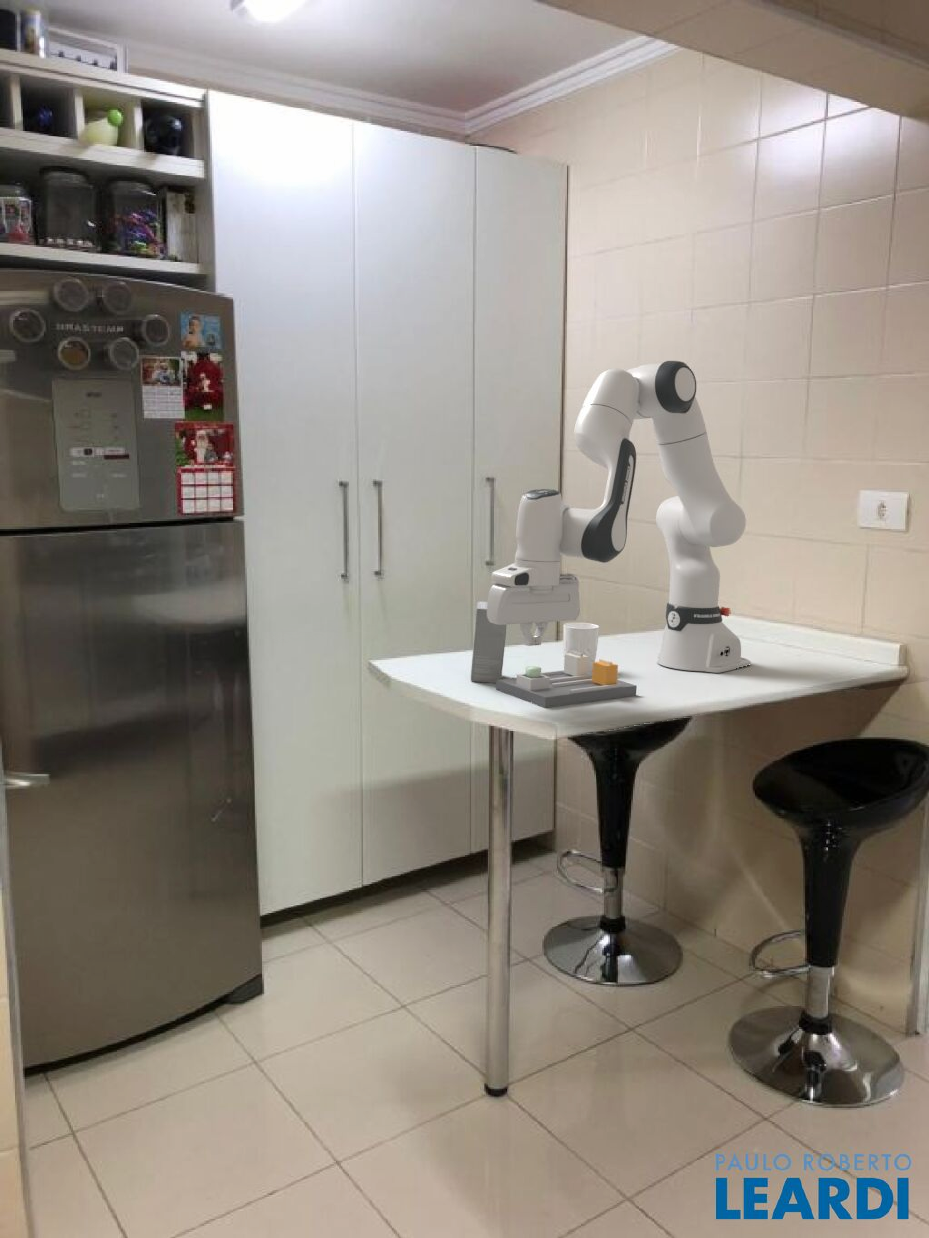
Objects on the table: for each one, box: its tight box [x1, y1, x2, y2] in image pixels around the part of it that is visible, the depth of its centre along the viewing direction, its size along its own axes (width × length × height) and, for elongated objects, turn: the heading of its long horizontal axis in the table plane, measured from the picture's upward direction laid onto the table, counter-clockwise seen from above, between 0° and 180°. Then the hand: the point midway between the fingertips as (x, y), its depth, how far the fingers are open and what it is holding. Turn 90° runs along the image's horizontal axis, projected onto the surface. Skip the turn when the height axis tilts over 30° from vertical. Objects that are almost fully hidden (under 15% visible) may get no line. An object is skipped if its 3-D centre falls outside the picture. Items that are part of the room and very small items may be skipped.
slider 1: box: [563, 651, 589, 676], centre depth 207 cm, size 3×4×5 cm
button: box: [525, 665, 542, 679], centre depth 195 cm, size 3×3×2 cm
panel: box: [496, 669, 637, 709], centre depth 200 cm, size 23×16×4 cm
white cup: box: [562, 622, 600, 672], centre depth 222 cm, size 8×8×10 cm
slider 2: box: [592, 658, 619, 685], centre depth 199 cm, size 3×4×5 cm
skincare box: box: [470, 601, 507, 684], centre depth 209 cm, size 8×7×16 cm
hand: (532, 645), depth 194 cm, fingers closed
